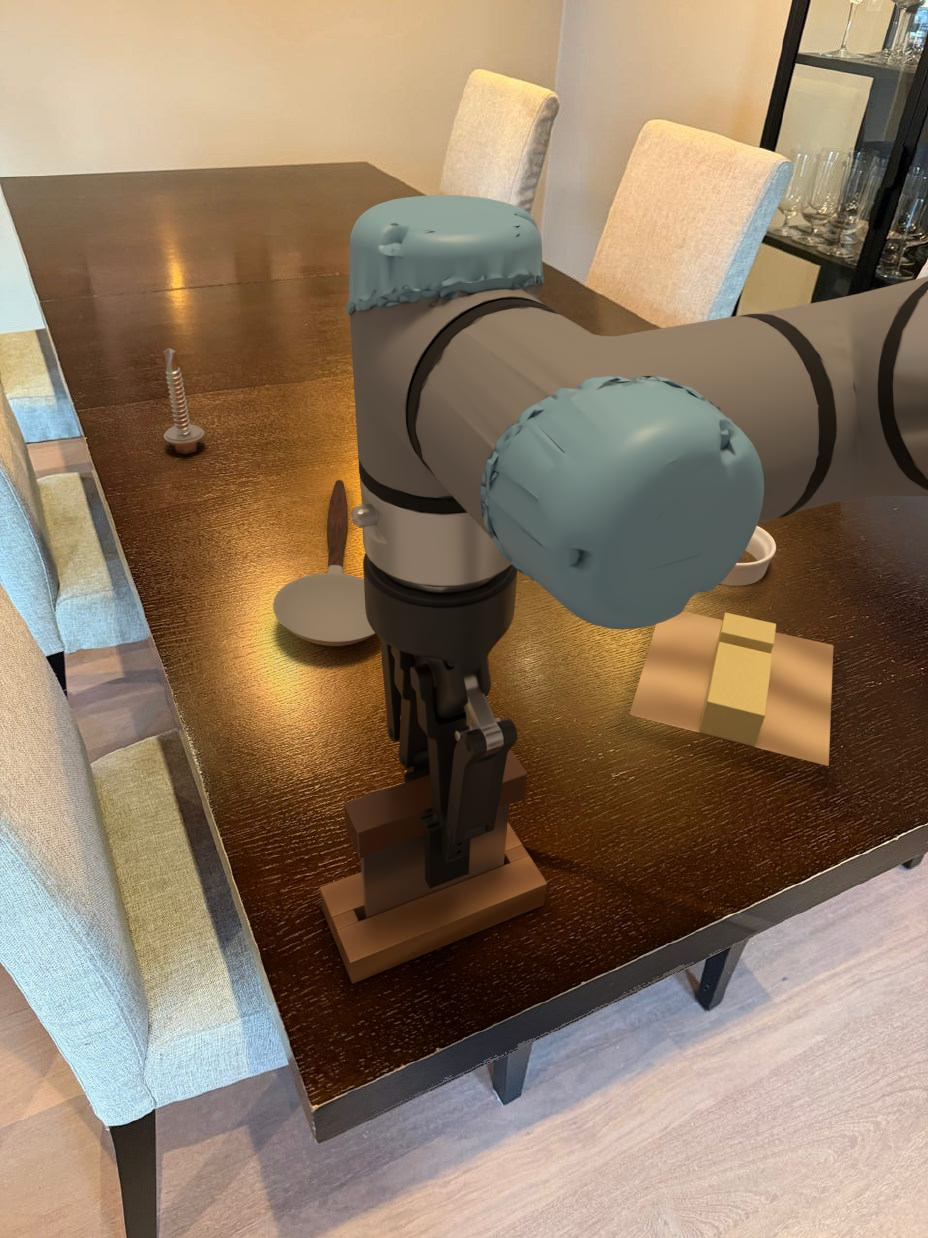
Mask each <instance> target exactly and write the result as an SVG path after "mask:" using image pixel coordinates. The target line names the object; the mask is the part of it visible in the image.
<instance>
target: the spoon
mask: <svg viewBox="0 0 928 1238" xmlns="http://www.w3.org/2000/svg"><path fill="white" fill-rule="evenodd" d="M347 500H348V499H347V494H346V488H345V484H344V481H343V480H341V479H337V480H336V481H335V483H334V485H333V489H332V493H331V495H330V501H329V505H328V512H327V521H326V522H327V527H326V533H327V534H326V535H327V537H326V538H327V545H328V562H327V571H326V573H325V572H323V573H316V574H315V573H314V574H310V575H306V576H302V577H299V578H296V579H294V580H292V581H290V582H288V583H287V584H285V585H284V586H282V588H280V589H279V590H278V591H277V593H276V594H275V596H274V598H273V602H272V610H273V613H274V616H275V618H276V619H277V621H278V623H280V624H281V626H283V627H284V629H286V630H287V631H289V632H290V633H291V634H293V635H294V636H296V637H298V638H300V639H302V640H304V641H307V642H308V643H312V644H316V645H321V646H326V647H342V646H348V645H353V644H357V643H360V642H363V641H366V640H367V639H369V638H371V637H373V636H374V635H377V634H376V633H375V632H374V631H373V629H372V628H371V626H370V624H369V622H368V620H367V617H366V611H365V593H364V578H362V577H360V576H355V575H350V574H346V573H345V574H344V554H345V553H344V552H345V546H346V543H347V535H348V525H349V523H348V522H349V521H348V520H349V515H348V511H349V510H348V501H347Z"/></svg>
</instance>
